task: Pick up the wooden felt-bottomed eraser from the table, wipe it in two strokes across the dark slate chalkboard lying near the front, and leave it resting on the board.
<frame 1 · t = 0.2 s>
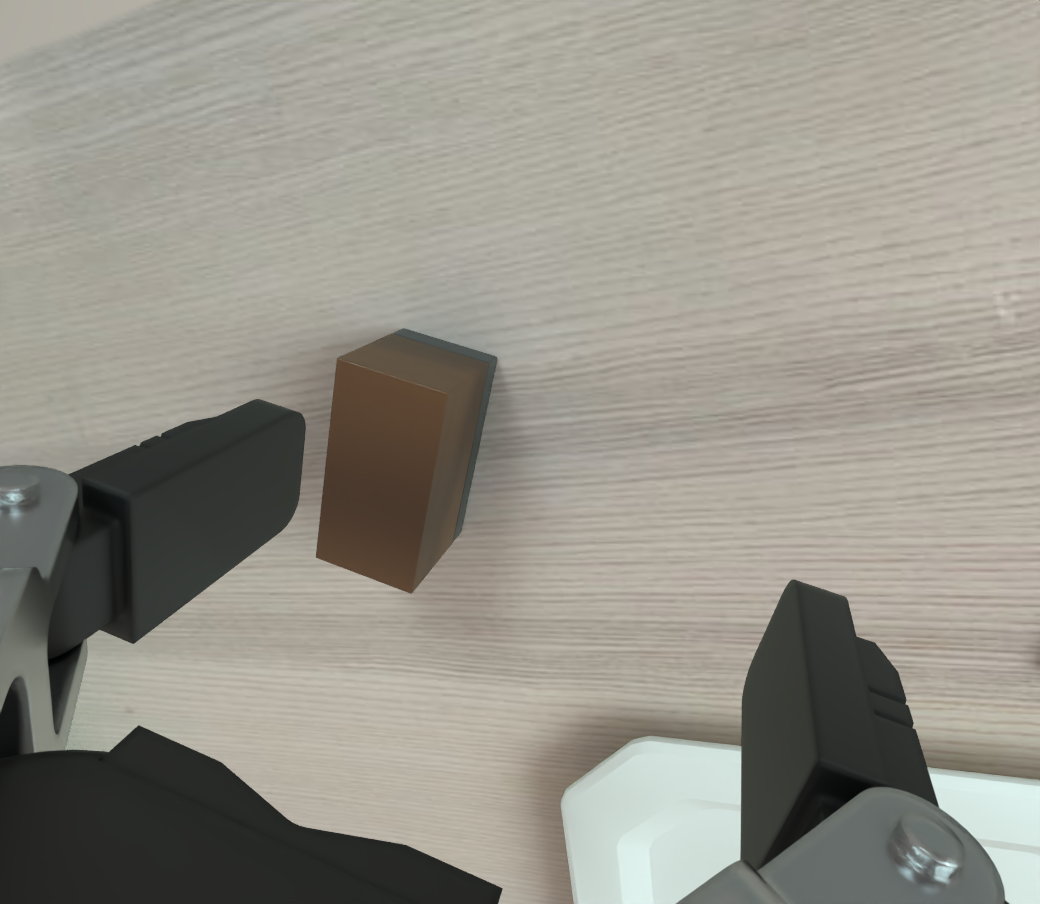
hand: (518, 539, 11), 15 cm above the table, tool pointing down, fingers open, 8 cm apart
eraser: (433, 434, 29), on the table
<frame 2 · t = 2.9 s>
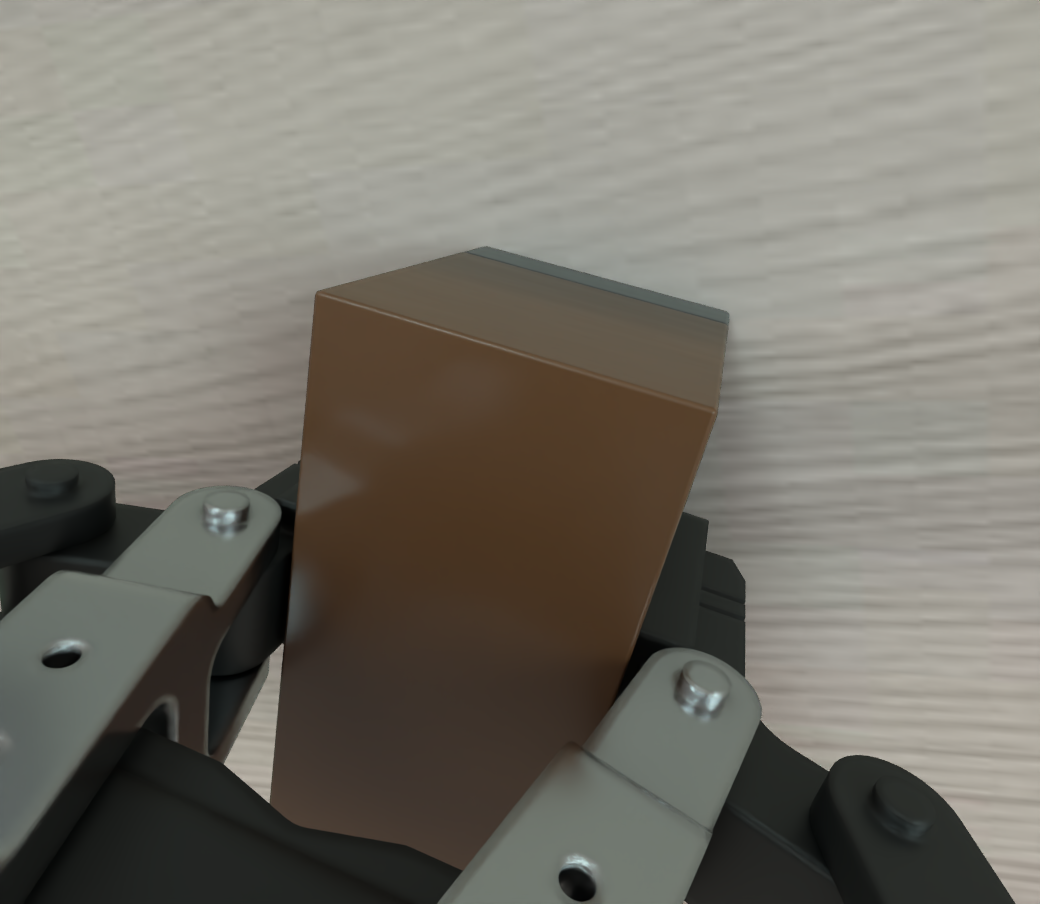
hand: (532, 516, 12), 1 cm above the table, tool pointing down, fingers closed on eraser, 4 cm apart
eraser: (546, 498, 13), on the table, touching gripper
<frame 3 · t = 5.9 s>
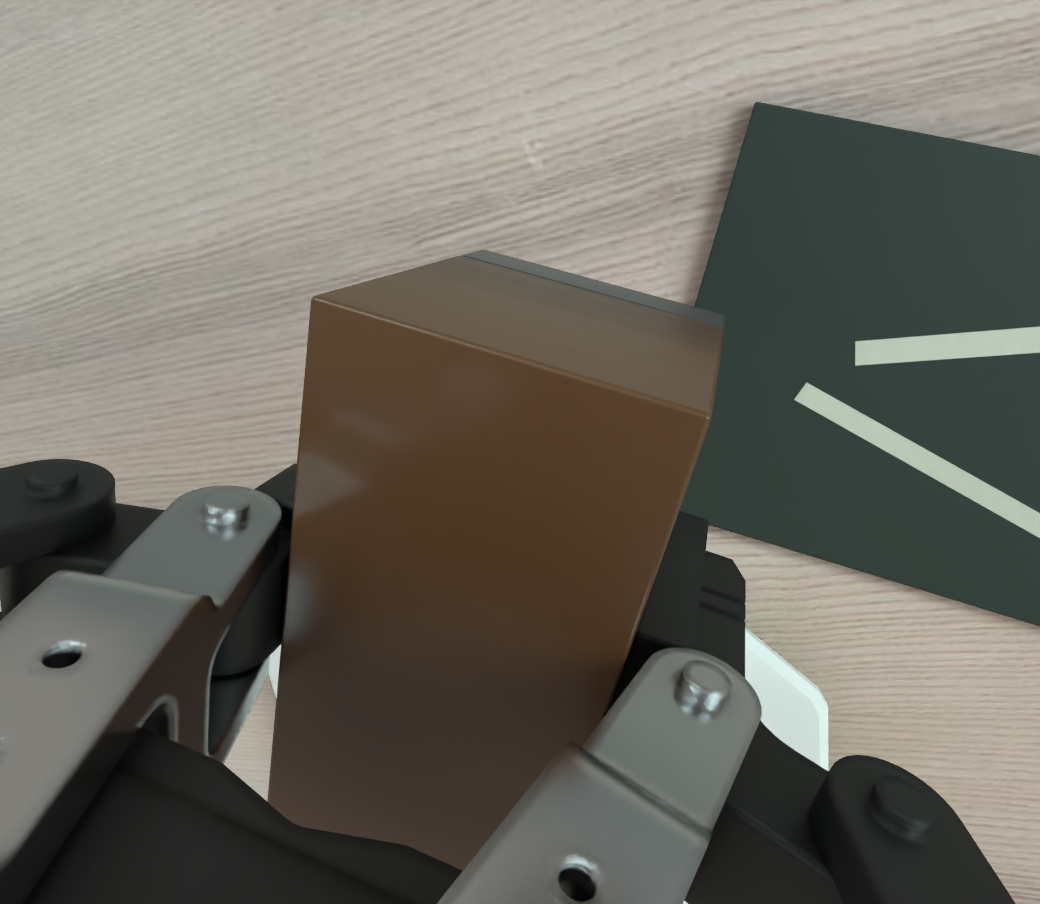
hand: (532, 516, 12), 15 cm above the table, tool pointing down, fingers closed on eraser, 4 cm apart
plate: (548, 799, 34), on the table
chalkboard: (996, 400, 23), on the table
eraser: (543, 500, 13), point 14 cm above the table, touching gripper
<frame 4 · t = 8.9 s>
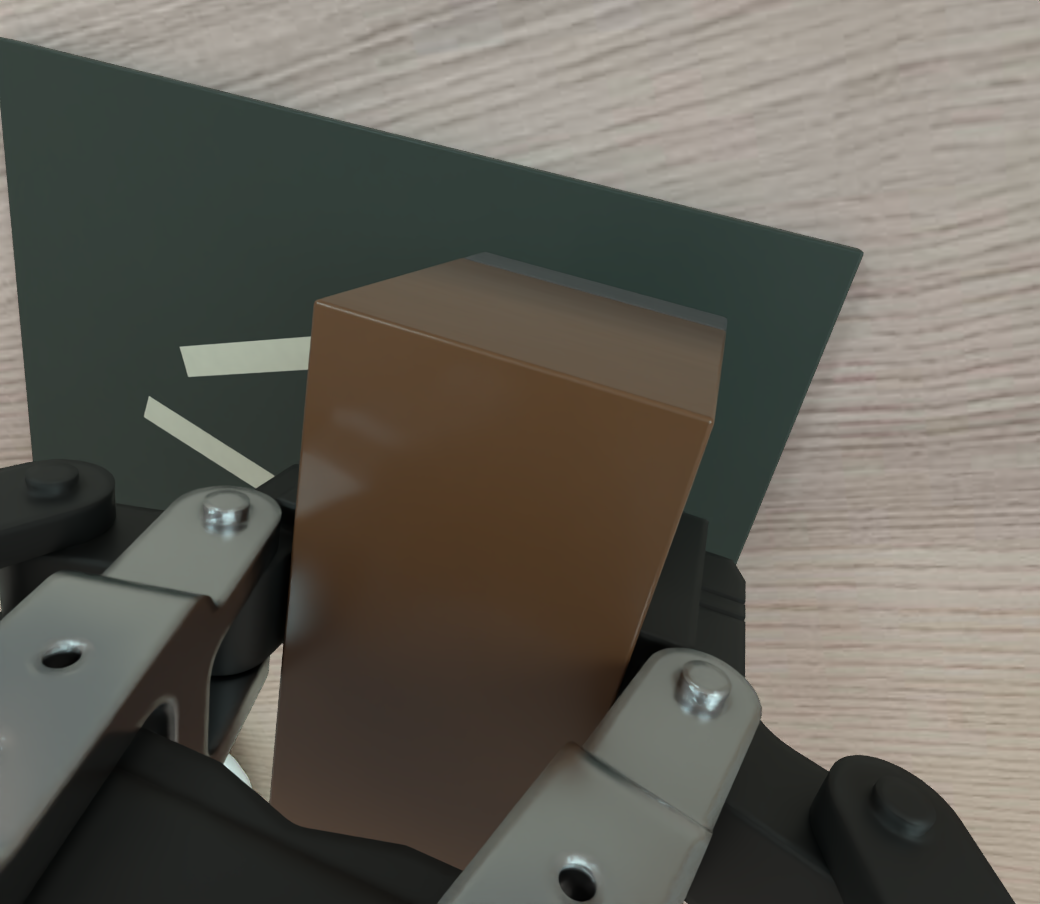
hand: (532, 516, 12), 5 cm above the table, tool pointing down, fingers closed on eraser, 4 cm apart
plate: (83, 859, 30), on the table
chalkboard: (351, 424, 18), on the table
eraser: (544, 502, 13), point 4 cm above the table, touching gripper
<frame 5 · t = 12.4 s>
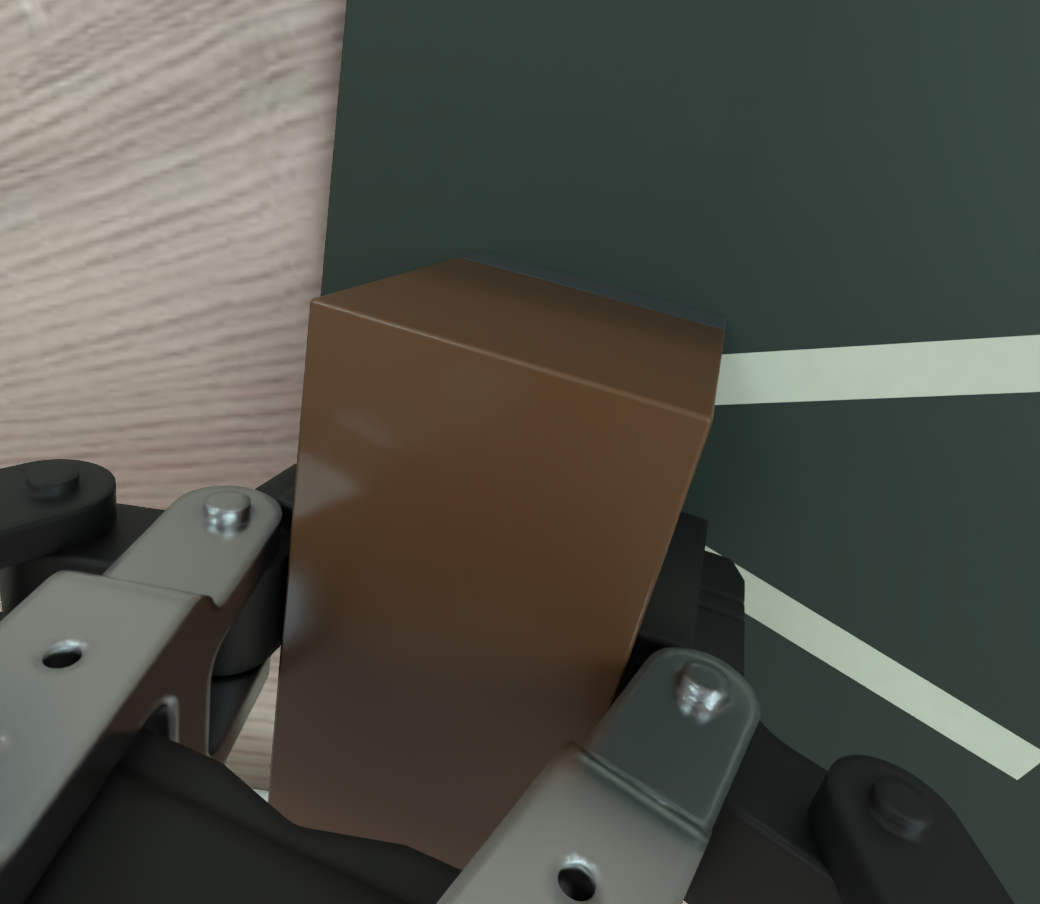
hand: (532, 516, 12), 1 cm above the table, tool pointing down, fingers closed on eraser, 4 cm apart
chalkboard: (884, 485, 11), on the table
eraser: (543, 502, 13), point 1 cm above the table, touching gripper
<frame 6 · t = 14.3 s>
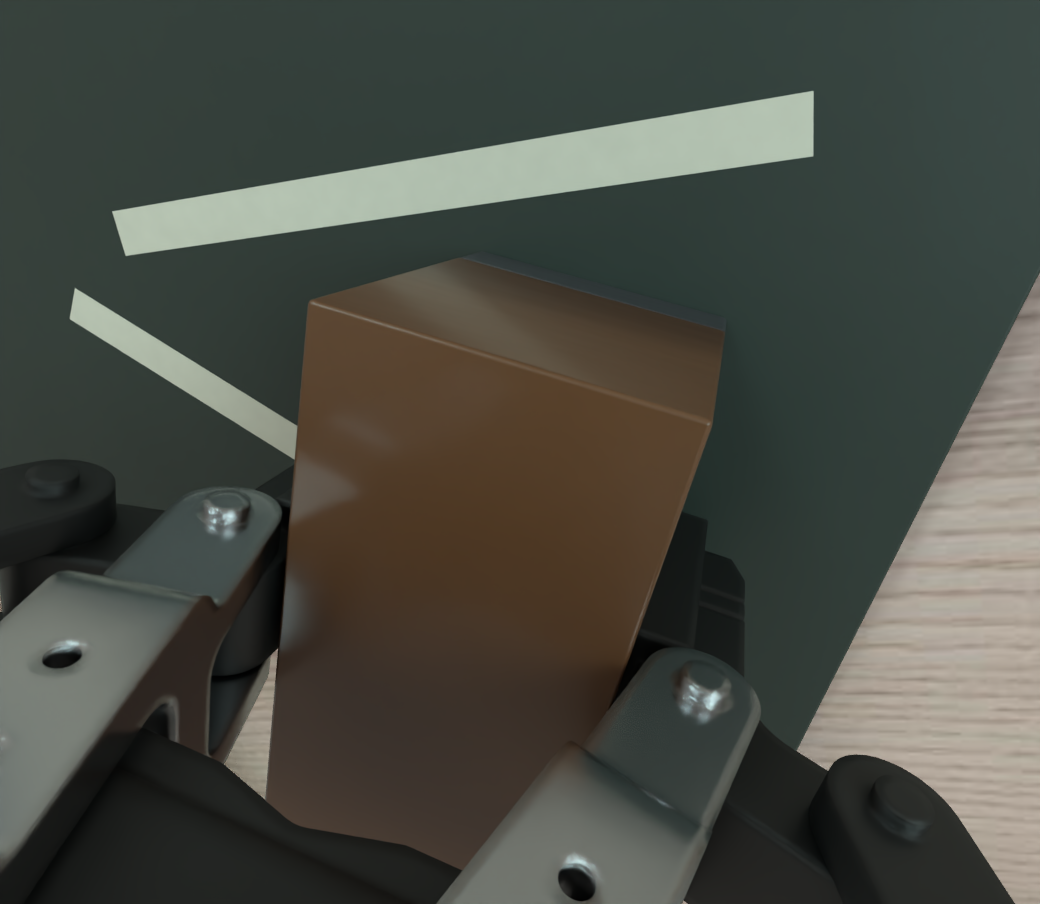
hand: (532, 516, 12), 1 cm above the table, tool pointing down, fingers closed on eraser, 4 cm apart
chalkboard: (351, 317, 13), on the table
eraser: (542, 503, 13), point 1 cm above the table, touching gripper
when the fingers open (1 cm above the table, at t = 15.1 s): eraser stays where it is, resting on chalkboard.
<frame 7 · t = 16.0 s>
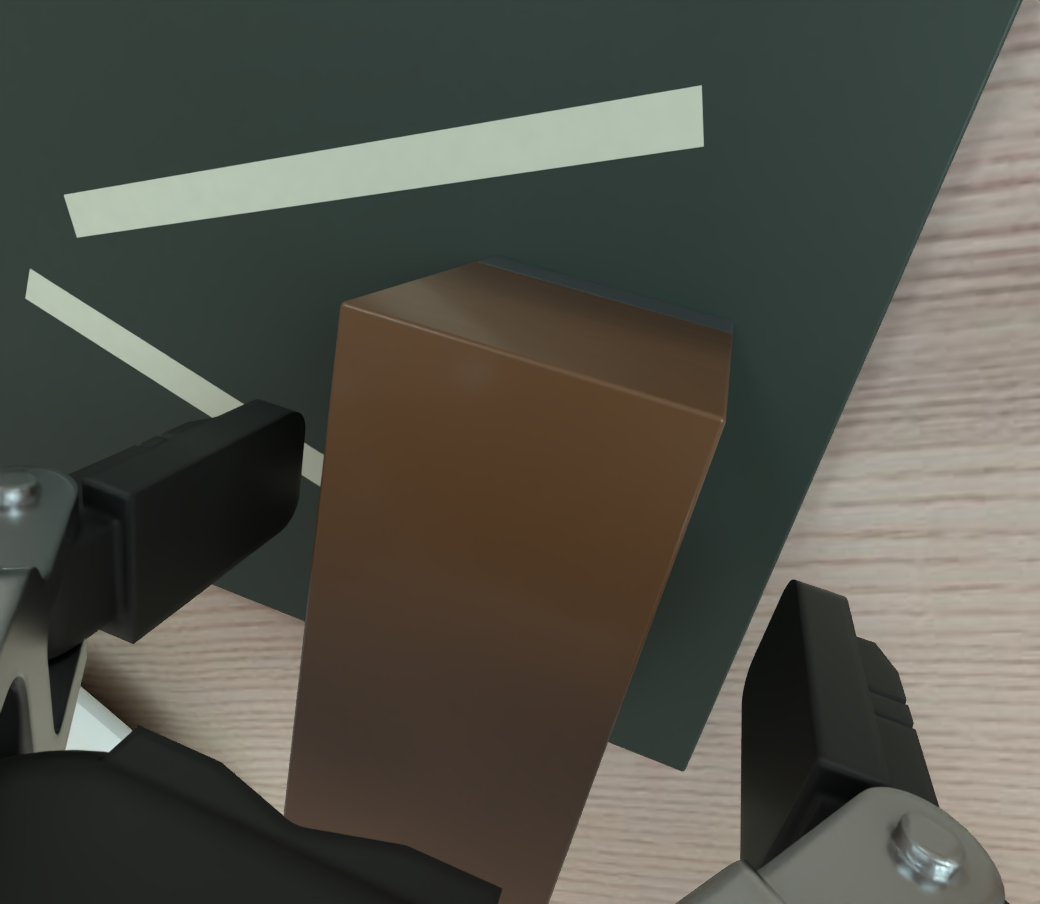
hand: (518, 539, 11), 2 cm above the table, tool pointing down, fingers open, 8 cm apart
chalkboard: (291, 298, 14), on the table
eraser: (553, 501, 13), resting on chalkboard
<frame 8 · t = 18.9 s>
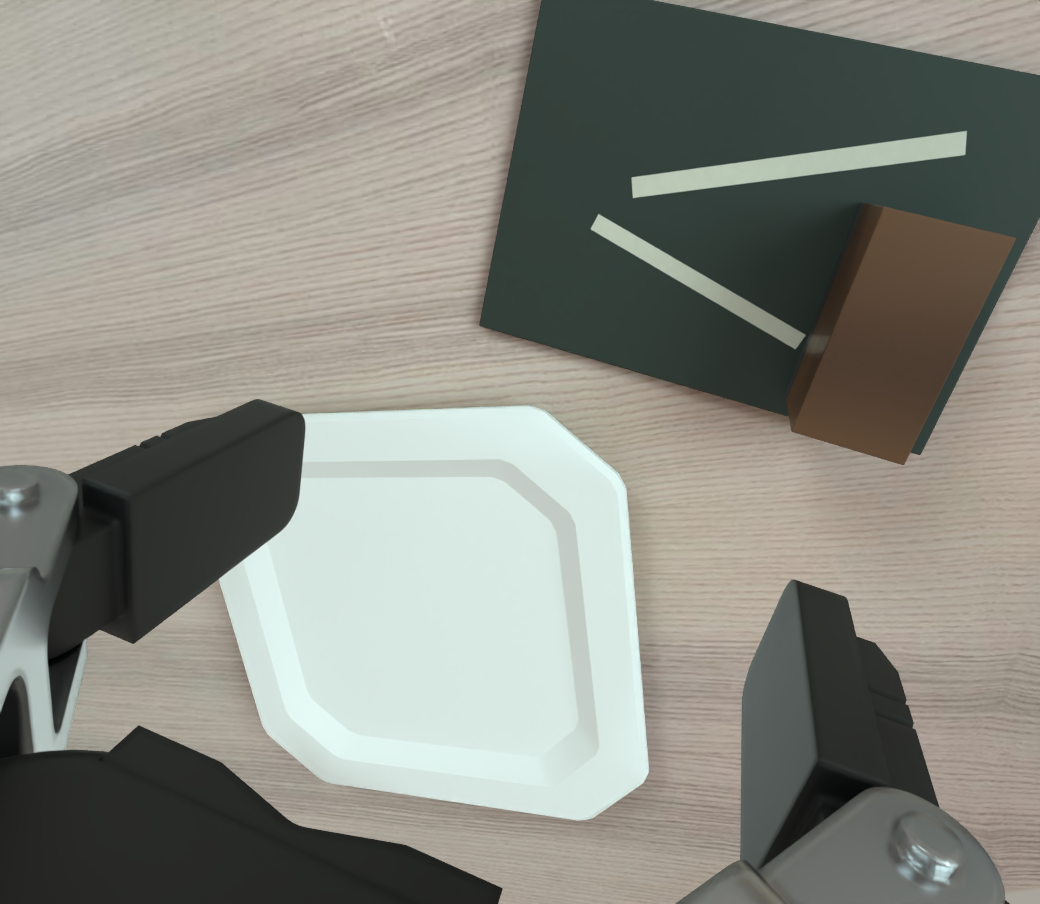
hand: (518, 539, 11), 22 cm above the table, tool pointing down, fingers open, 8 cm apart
plate: (428, 605, 41), on the table
chalkboard: (740, 225, 29), on the table
eraser: (871, 316, 28), resting on chalkboard
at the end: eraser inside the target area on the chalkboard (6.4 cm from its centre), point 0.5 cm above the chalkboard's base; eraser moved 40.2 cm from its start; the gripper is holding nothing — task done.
